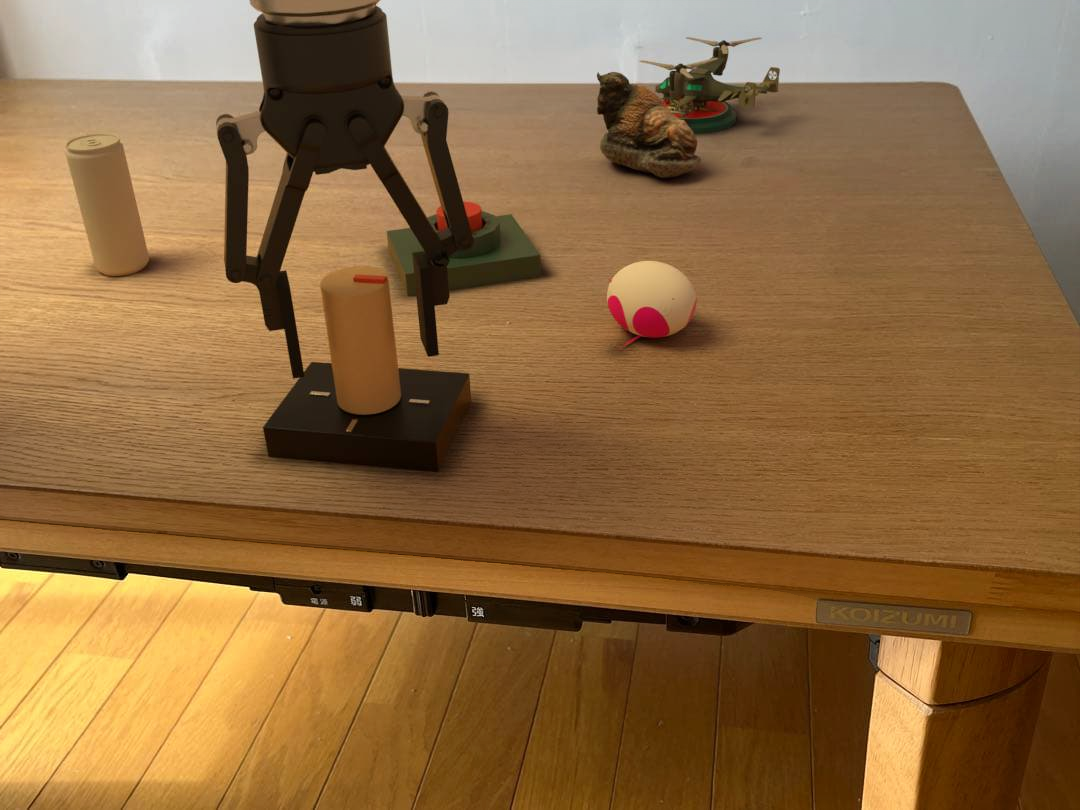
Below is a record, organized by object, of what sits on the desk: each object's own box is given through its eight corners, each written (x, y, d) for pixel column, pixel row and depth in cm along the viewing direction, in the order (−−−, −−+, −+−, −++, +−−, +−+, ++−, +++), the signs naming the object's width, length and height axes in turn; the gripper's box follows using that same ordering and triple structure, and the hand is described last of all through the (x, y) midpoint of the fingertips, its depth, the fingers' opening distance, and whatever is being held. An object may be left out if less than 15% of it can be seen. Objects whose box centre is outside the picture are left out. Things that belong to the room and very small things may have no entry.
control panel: (268, 457, 75) (261, 425, 74) (315, 390, 83) (310, 359, 81) (438, 473, 73) (435, 439, 72) (471, 402, 81) (469, 371, 79)
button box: (407, 297, 96) (403, 254, 94) (388, 252, 104) (384, 212, 102) (541, 277, 98) (539, 235, 96) (512, 235, 107) (510, 195, 104)
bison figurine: (709, 171, 120) (714, 77, 115) (678, 191, 115) (682, 94, 110) (613, 153, 126) (614, 63, 120) (580, 172, 121) (579, 79, 116)
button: (442, 239, 97) (441, 220, 96) (433, 222, 100) (432, 204, 100) (487, 233, 98) (486, 214, 97) (476, 216, 101) (475, 198, 100)
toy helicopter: (683, 92, 145) (686, 26, 141) (795, 108, 138) (802, 39, 133) (608, 136, 131) (609, 64, 126) (729, 156, 124) (733, 81, 119)
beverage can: (101, 282, 100) (68, 154, 94) (91, 264, 104) (59, 138, 97) (155, 270, 102) (126, 143, 96) (144, 252, 106) (115, 129, 99)
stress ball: (601, 361, 92) (568, 318, 87) (648, 284, 94) (619, 237, 88) (676, 388, 87) (646, 344, 82) (724, 306, 89) (698, 258, 84)
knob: (328, 412, 75) (309, 288, 70) (349, 380, 79) (333, 260, 74) (390, 417, 74) (375, 292, 70) (409, 384, 78) (396, 263, 73)
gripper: (484, -19, 68) (501, 310, 80) (127, 12, 64) (202, 356, 76) (515, 6, 62) (529, 358, 74) (123, 42, 58) (205, 411, 70)
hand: (364, 357), depth 75 cm, fingers open, 8 cm apart
